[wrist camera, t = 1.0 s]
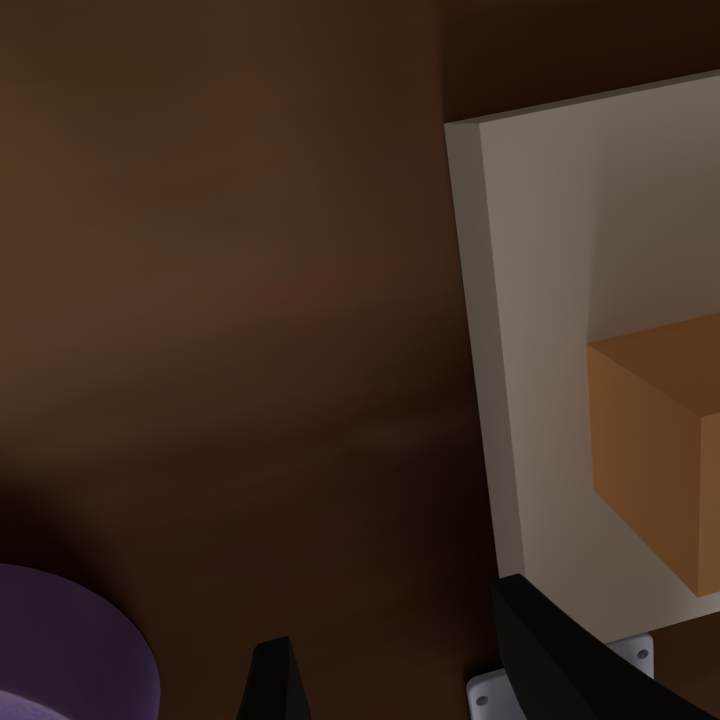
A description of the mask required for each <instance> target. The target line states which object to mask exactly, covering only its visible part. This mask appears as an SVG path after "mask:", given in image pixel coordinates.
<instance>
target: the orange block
mask: <svg viewBox="0 0 720 720" xmlns="http://www.w3.org/2000/svg"><path fill="white" fill-rule="evenodd" d="M586 347H587V367H588V386H589V406H590V426H591V445H592V465H593V485H594V491H595V492H596V493H597V494H598V495H599V496H600V497H601V498H602V499H603V500H604V501H605V502H606V503H607V504H608V505H609V506H610V507H611V508H612V509H613V511H614V512H615V513H616V514H617V515H618V516H619V517H620V518H621V519H622V520H623V521H624V522H625V523H626V524H627V525H628V526H629V527H630V528H631V529H632V530H633V531H634V532H635V533H636V534H637V535H638V536H639V537H640V539H641V540H642V541H643V542H644V543H645V544H646V545H647V546H648V547H649V548H650V549H651V550H652V551H653V552H654V553H655V554H656V555H657V556H658V557H659V558H660V559H661V560H662V561H663V562H664V563H665V564H666V565H667V566H668V568H669V569H670V570H671V571H672V572H673V573H674V574H675V575H676V576H677V577H678V578H679V579H680V580H681V581H682V582H683V583H684V584H685V585H686V586H687V587H688V588H689V589H690V590H691V591H692V592H693V593H694V594H695V596H696V597H697V598H699V597H702V596H706V595H709V594H713V593H716V592H720V312H719V313H715V314H710V315H706V316H702V317H698V318H694V319H689V320H685V321H681V322H677V323H673V324H668V325H664V326H660V327H656V328H652V329H647V330H643V331H639V332H635V333H631V334H626V335H622V336H618V337H614V338H610V339H605V340H601V341H597V342H593V343H589V344H586Z"/></svg>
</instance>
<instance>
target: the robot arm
mask: <svg viewBox="0 0 720 720" xmlns="http://www.w3.org/2000/svg"><path fill="white" fill-rule="evenodd" d="M490 585H491V593H492V601H493V608H494V616H495V624H496V632H497V639H498V647H499V655H500V659H501V661H502V664H503V666H504V668H503V669H499V670H496V671H492V672H489V673H485V674H482V675H478V676H475V677H473V678H472V679H470V680H469V682H468V683H467V686H466V690H467V696H468V703H469V709H470V715H471V720H720V719H718V718H716V717H714V716H713V715H711V714H709V713H707V712H706V711H704V710H702V709H700V708H699V707H697V706H695V705H694V704H692V703H690V702H689V701H687V700H685V699H684V698H682V697H680V696H679V695H677V694H676V693H674V692H672V691H671V690H669V689H668V688H666V687H665V686H663V685H661V684H660V683H658V682H657V681H655V680H654V673H653V639H652V637H651V636H650V635H649V633H648V632H644V633H641V634H637V635H634V636H630V637H627V638H623V639H620V640H616V641H613V642H609V643H606V644H604V643H602V642H601V641H600V640H598V639H597V638H596V637H595V636H593V635H592V634H591V633H590V632H588V631H587V630H586V629H584V628H583V627H582V626H581V625H579V624H578V623H577V622H576V621H574V620H573V619H572V618H571V617H570V616H568V615H567V614H566V613H565V612H564V611H563V610H561V609H560V608H559V607H558V606H557V605H555V604H554V603H553V602H552V601H551V600H550V599H549V598H547V597H546V596H545V595H544V594H543V593H542V592H541V591H540V590H538V589H537V588H536V587H535V586H534V585H533V584H532V583H531V582H530V581H529V580H528V579H526V578H525V577H524V576H523V575H521V574H519V573H517V574H514V575H510V576H506V577H503V578H499V579H495V580H492V581H490ZM481 696H482V697H481ZM479 697H480V698H479ZM236 720H312V719H311V712H310V708H309V705H308V701H307V698H306V694H305V691H304V687H303V684H302V680H301V677H300V673H299V670H298V666H297V663H296V659H295V656H294V652H293V649H292V645H291V642H290V638H289V636H285V637H282V638H278V639H274V640H271V641H267V642H263V643H260V644H258V645H257V646H256V647H255V649H254V651H253V657H252V662H251V667H250V671H249V675H248V679H247V683H246V687H245V691H244V695H243V698H242V702H241V705H240V709H239V712H238V715H237V718H236Z"/></svg>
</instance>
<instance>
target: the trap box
mask: <svg viewBox="0 0 720 720" xmlns="http://www.w3.org/2000/svg"><path fill="white" fill-rule="evenodd" d="M444 129H445V137H446V146H447V154H448V162H449V170H450V178H451V187H452V195H453V203H454V211H455V219H456V228H457V236H458V244H459V252H460V260H461V269H462V277H463V285H464V293H465V301H466V309H467V318H468V326H469V334H470V342H471V350H472V359H473V367H474V375H475V383H476V391H477V400H478V408H479V416H480V424H481V432H482V440H483V449H484V457H485V465H486V473H487V481H488V490H489V498H490V506H491V514H492V522H493V531H494V539H495V547H496V555H497V563H498V572H499V578H503V577H506V576H510V575H514V574H517V573H519V574H521V575H523V576H524V577H525V578H526V579H528V580H529V581H530V582H531V583H532V584H533V585H534V586H535V587H536V588H537V589H538V590H540V591H541V592H542V593H543V594H544V595H545V596H546V597H547V598H549V599H550V600H551V601H552V602H553V603H554V604H555V605H557V606H558V607H559V608H560V609H561V610H563V611H564V612H565V613H566V614H567V615H568V616H570V617H571V618H572V619H573V620H574V621H576V622H577V623H578V624H579V625H581V626H582V627H583V628H584V629H586V630H587V631H588V632H590V633H591V634H592V635H593V636H595V637H596V638H597V639H598V640H600V641H601V642H602V643H604V644H606V643H609V642H613V641H616V640H620V639H623V638H627V637H630V636H634V635H637V634H641V633H644V632H648V631H651V630H655V629H658V628H662V627H665V626H669V625H672V624H676V623H679V622H683V621H686V620H689V619H693V618H696V617H700V616H703V615H707V614H710V613H714V612H717V611H720V592H716V593H713V594H709V595H706V596H702V597H699V598H697V597H696V596H695V594H694V593H693V592H692V591H691V590H690V589H689V588H688V587H687V586H686V585H685V584H684V583H683V582H682V581H681V580H680V579H679V578H678V577H677V576H676V575H675V574H674V573H673V572H672V571H671V570H670V569H669V568H668V566H667V565H666V564H665V563H664V562H663V561H662V560H661V559H660V558H659V557H658V556H657V555H656V554H655V553H654V552H653V551H652V550H651V549H650V548H649V547H648V546H647V545H646V544H645V543H644V542H643V541H642V540H641V539H640V537H639V536H638V535H637V534H636V533H635V532H634V531H633V530H632V529H631V528H630V527H629V526H628V525H627V524H626V523H625V522H624V521H623V520H622V519H621V518H620V517H619V516H618V515H617V514H616V513H615V512H614V511H613V509H612V508H611V507H610V506H609V505H608V504H607V503H606V502H605V501H604V500H603V499H602V498H601V497H600V496H599V495H598V494H597V493H596V492H595V491H594V485H593V465H592V445H591V426H590V406H589V386H588V367H587V347H586V344H589V343H593V342H597V341H601V340H605V339H610V338H614V337H618V336H622V335H626V334H631V333H635V332H639V331H643V330H647V329H652V328H656V327H660V326H664V325H668V324H673V323H677V322H681V321H685V320H689V319H694V318H698V317H702V316H706V315H710V314H715V313H719V312H720V69H717V70H712V71H707V72H702V73H697V74H692V75H687V76H682V77H677V78H672V79H667V80H662V81H657V82H652V83H647V84H642V85H637V86H632V87H627V88H622V89H616V90H611V91H606V92H601V93H596V94H591V95H586V96H581V97H576V98H571V99H566V100H561V101H556V102H551V103H546V104H541V105H536V106H531V107H526V108H521V109H516V110H511V111H505V112H500V113H495V114H490V115H485V116H480V117H475V118H470V119H465V120H460V121H455V122H450V123H445V124H444Z"/></svg>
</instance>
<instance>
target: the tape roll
mask: <svg viewBox="0 0 720 720" xmlns="http://www.w3.org/2000/svg"><path fill="white" fill-rule="evenodd" d="M159 703H160V680H159V674H158V669H157V665H156V662H155V659H154V656H153V654H152V652H151V650H150V648H149V646H148V644H147V642H146V640H145V639H144V637H143V636H142V634H141V633H140V632H139V630H138V629H137V628H136V627H135V625H134V624H133V623H132V622H131V621H130V620H129V619H128V618H127V617H126V616H125V615H124V614H123V613H122V612H121V611H120V610H119V609H117V608H116V607H115V606H113V605H112V604H111V603H110V602H108V601H107V600H105V599H104V598H102V597H101V596H99V595H97V594H96V593H94V592H92V591H90V590H89V589H87V588H85V587H83V586H81V585H79V584H77V583H75V582H73V581H71V580H68V579H65V578H63V577H60V576H58V575H54V574H51V573H47V572H43V571H40V570H37V569H33V568H28V567H24V566H18V565H11V564H2V563H0V720H157V717H158V711H159Z"/></svg>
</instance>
